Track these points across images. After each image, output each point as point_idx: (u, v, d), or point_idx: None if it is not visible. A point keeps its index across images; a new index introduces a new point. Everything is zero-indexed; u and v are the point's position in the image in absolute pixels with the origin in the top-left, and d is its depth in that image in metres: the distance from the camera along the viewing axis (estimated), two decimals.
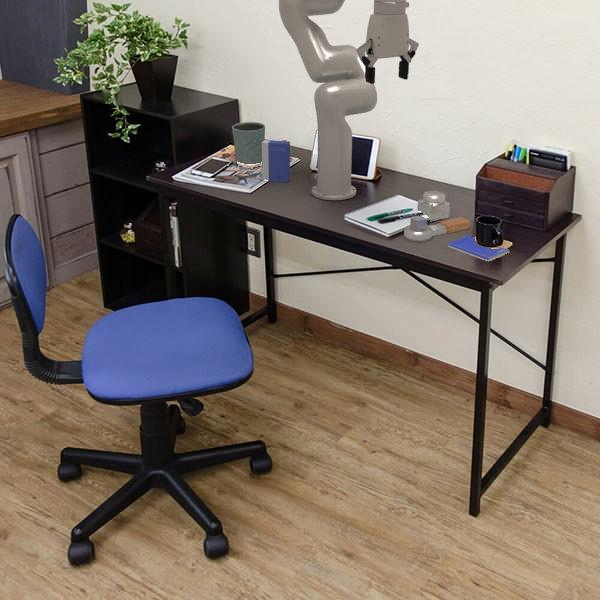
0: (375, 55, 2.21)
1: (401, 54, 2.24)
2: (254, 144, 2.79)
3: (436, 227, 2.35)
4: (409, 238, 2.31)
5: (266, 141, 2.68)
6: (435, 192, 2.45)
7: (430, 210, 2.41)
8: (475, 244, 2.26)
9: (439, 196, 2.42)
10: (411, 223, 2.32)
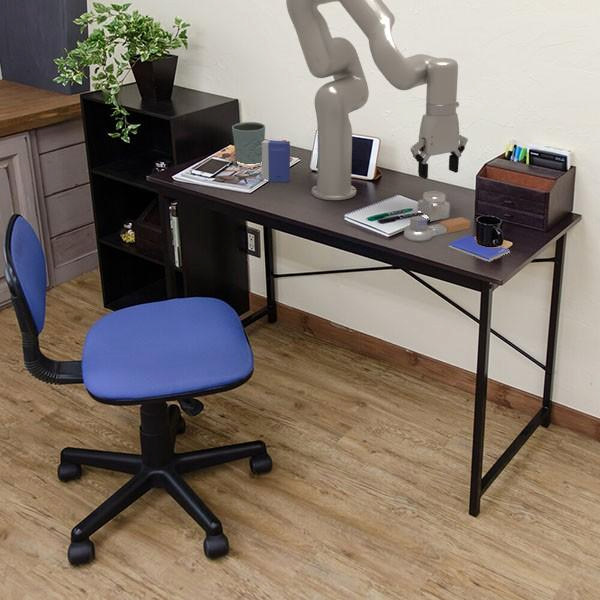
0: (428, 153, 2.34)
1: (452, 150, 2.37)
2: (254, 144, 2.79)
3: (436, 227, 2.35)
4: (409, 238, 2.30)
5: (266, 141, 2.68)
6: (435, 192, 2.45)
7: (430, 210, 2.41)
8: (476, 244, 2.26)
9: (439, 196, 2.42)
10: (411, 223, 2.32)
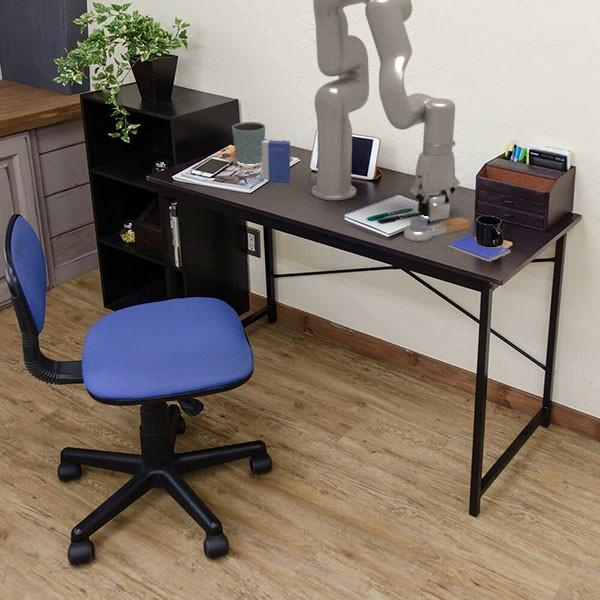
0: (424, 190, 2.39)
1: (447, 188, 2.42)
2: (254, 144, 2.79)
3: (436, 227, 2.34)
4: (409, 238, 2.30)
5: (266, 141, 2.68)
6: (435, 192, 2.45)
7: (430, 210, 2.41)
8: (476, 244, 2.26)
9: (439, 196, 2.42)
10: (411, 223, 2.32)
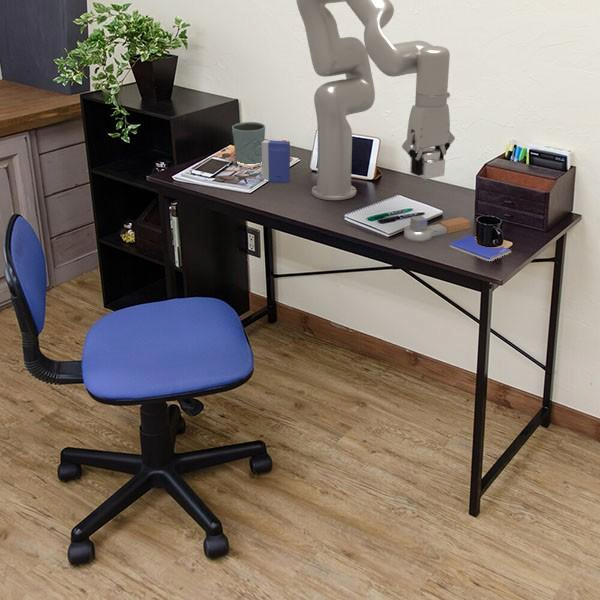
0: (417, 146, 2.23)
1: (442, 143, 2.26)
2: (254, 144, 2.79)
3: (436, 227, 2.34)
4: (409, 238, 2.30)
5: (266, 141, 2.68)
6: (429, 148, 2.29)
7: (424, 167, 2.25)
8: (477, 244, 2.26)
9: (433, 152, 2.26)
10: (411, 223, 2.32)
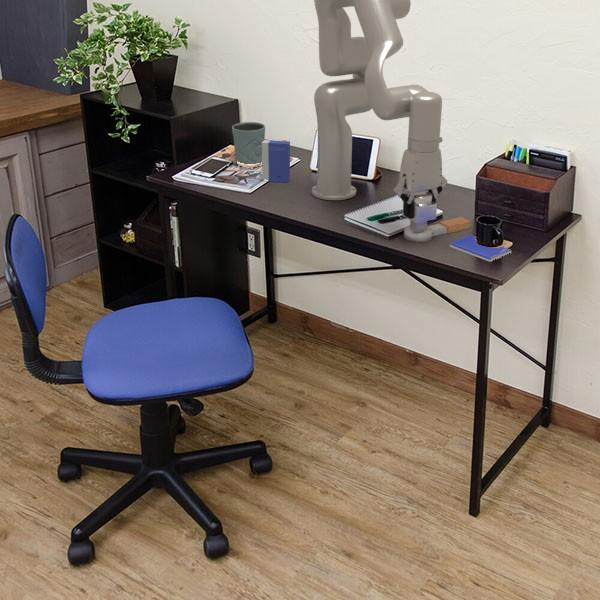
0: (409, 190, 2.24)
1: (434, 187, 2.27)
2: (254, 144, 2.79)
3: (436, 227, 2.34)
4: (409, 238, 2.30)
5: (266, 141, 2.68)
6: (421, 192, 2.30)
7: (416, 211, 2.26)
8: (477, 244, 2.26)
9: (425, 196, 2.26)
10: (411, 223, 2.32)
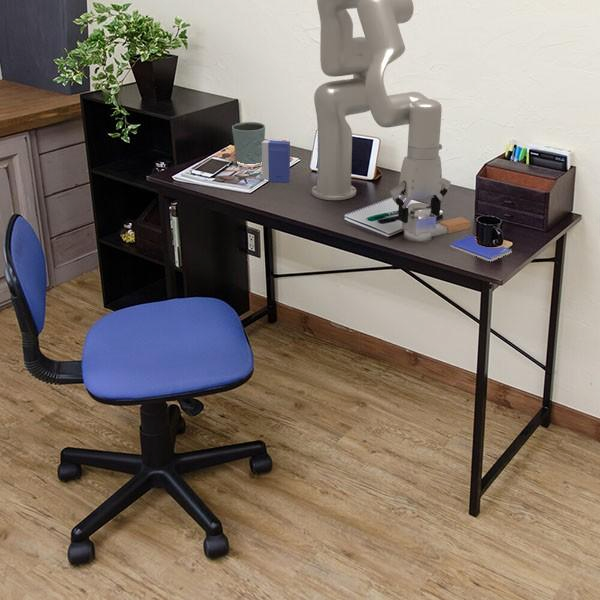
0: (409, 197, 2.24)
1: (434, 194, 2.28)
2: (254, 144, 2.79)
3: (436, 227, 2.34)
4: (409, 238, 2.30)
5: (266, 141, 2.68)
6: (421, 204, 2.31)
7: (415, 223, 2.27)
8: (478, 244, 2.26)
9: (424, 209, 2.28)
10: None
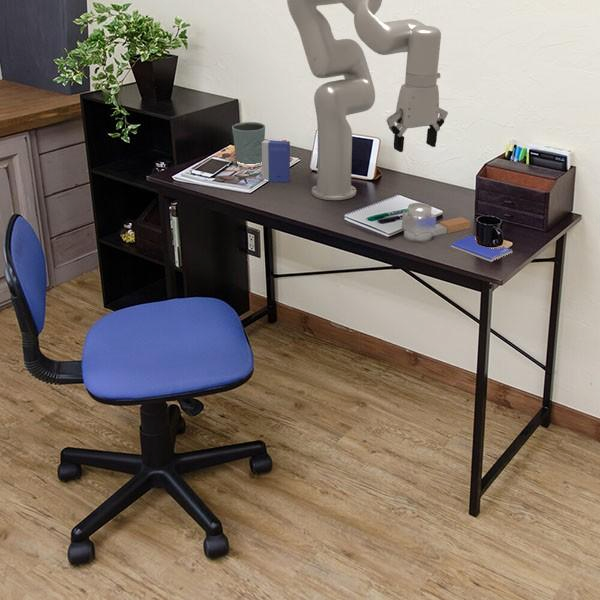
0: (405, 125, 2.24)
1: (430, 124, 2.27)
2: (254, 144, 2.79)
3: (436, 227, 2.34)
4: (409, 238, 2.30)
5: (266, 141, 2.68)
6: (421, 204, 2.31)
7: (415, 224, 2.27)
8: (478, 244, 2.26)
9: (424, 209, 2.28)
10: None
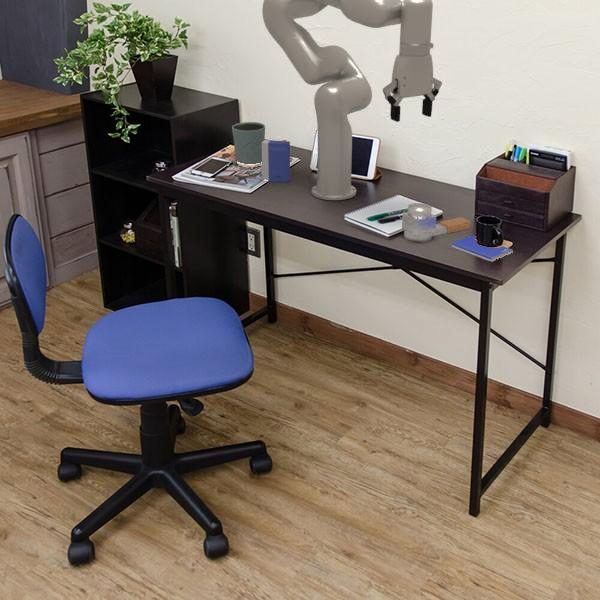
0: (400, 94, 2.29)
1: (425, 93, 2.32)
2: (254, 144, 2.79)
3: (436, 227, 2.34)
4: (409, 238, 2.30)
5: (266, 141, 2.68)
6: (421, 204, 2.31)
7: (415, 224, 2.27)
8: None
9: (424, 209, 2.28)
10: None
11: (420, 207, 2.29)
